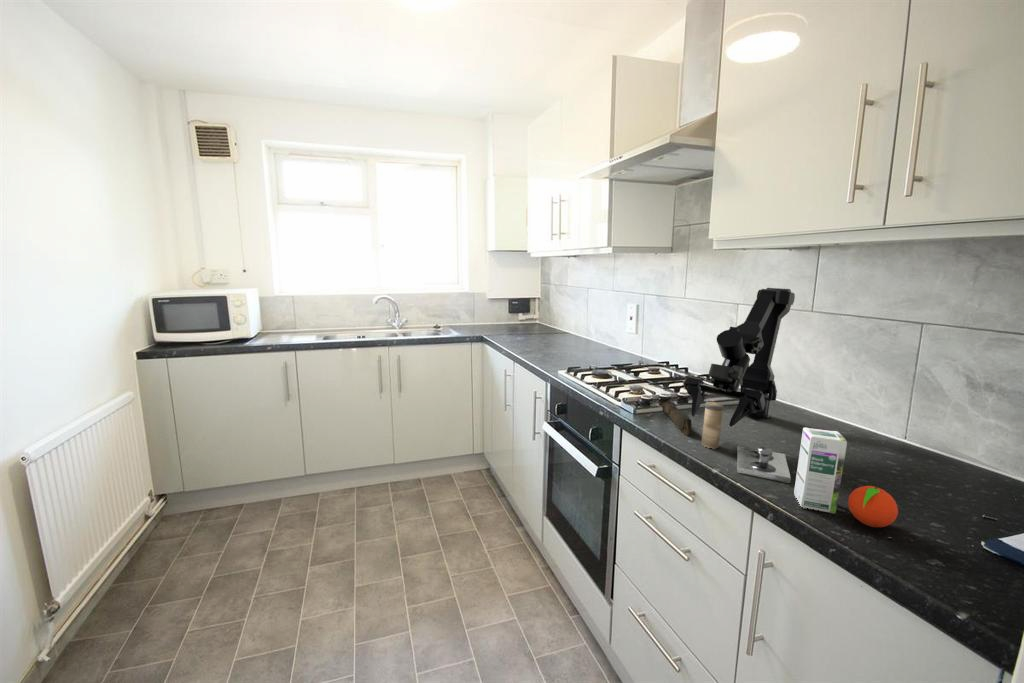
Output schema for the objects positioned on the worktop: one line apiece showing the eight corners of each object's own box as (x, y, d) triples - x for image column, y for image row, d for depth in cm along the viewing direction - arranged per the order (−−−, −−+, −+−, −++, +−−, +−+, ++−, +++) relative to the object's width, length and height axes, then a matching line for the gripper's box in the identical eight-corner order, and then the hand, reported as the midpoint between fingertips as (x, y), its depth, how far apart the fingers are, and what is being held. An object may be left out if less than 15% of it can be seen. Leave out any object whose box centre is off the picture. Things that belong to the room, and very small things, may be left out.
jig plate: (737, 449, 110) (739, 429, 109) (784, 458, 106) (787, 437, 105) (737, 472, 98) (740, 449, 97) (789, 483, 94) (793, 459, 93)
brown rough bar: (661, 412, 137) (662, 398, 136) (674, 413, 136) (675, 399, 135) (677, 437, 118) (679, 420, 117) (693, 438, 118) (694, 421, 117)
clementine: (883, 542, 74) (891, 503, 73) (835, 522, 80) (842, 485, 79) (900, 527, 79) (907, 490, 78) (853, 509, 84) (860, 474, 83)
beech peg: (710, 441, 115) (715, 401, 113) (722, 448, 111) (727, 406, 109) (697, 443, 114) (701, 402, 112) (708, 449, 110) (713, 407, 108)
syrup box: (800, 508, 84) (811, 436, 82) (792, 493, 90) (803, 425, 87) (835, 515, 82) (848, 441, 80) (826, 499, 88) (837, 429, 85)
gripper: (690, 346, 117) (666, 394, 112) (768, 358, 104) (745, 413, 99) (699, 370, 124) (677, 417, 119) (773, 385, 111) (753, 438, 106)
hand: (710, 420), depth 110 cm, fingers open, 9 cm apart
